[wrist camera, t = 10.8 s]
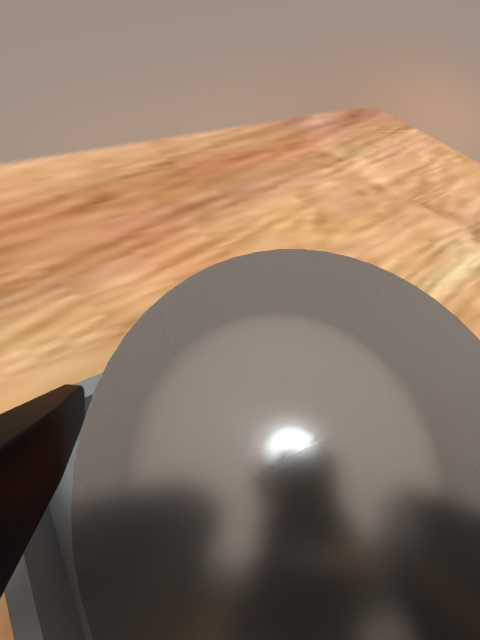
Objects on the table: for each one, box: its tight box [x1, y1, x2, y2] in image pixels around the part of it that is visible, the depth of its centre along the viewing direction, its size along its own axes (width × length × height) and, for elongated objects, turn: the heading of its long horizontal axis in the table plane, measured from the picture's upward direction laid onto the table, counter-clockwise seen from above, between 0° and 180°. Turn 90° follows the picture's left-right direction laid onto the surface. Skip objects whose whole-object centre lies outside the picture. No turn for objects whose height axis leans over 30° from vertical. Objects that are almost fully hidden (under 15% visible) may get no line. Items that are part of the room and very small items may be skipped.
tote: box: [4, 373, 103, 640], centre depth 13 cm, size 18×14×4 cm
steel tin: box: [71, 249, 480, 640], centre depth 10 cm, size 6×6×13 cm
